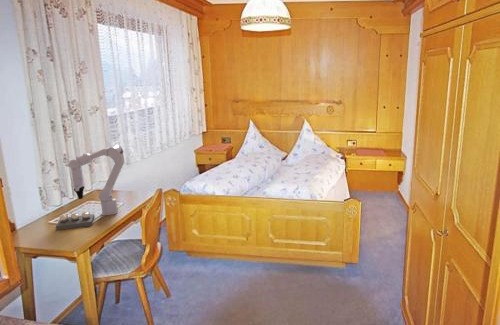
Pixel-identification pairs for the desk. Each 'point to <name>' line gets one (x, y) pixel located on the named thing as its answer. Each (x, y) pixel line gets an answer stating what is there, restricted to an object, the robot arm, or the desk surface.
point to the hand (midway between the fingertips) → (80, 198)
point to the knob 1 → (64, 218)
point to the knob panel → (75, 223)
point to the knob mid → (75, 217)
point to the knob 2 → (86, 215)
